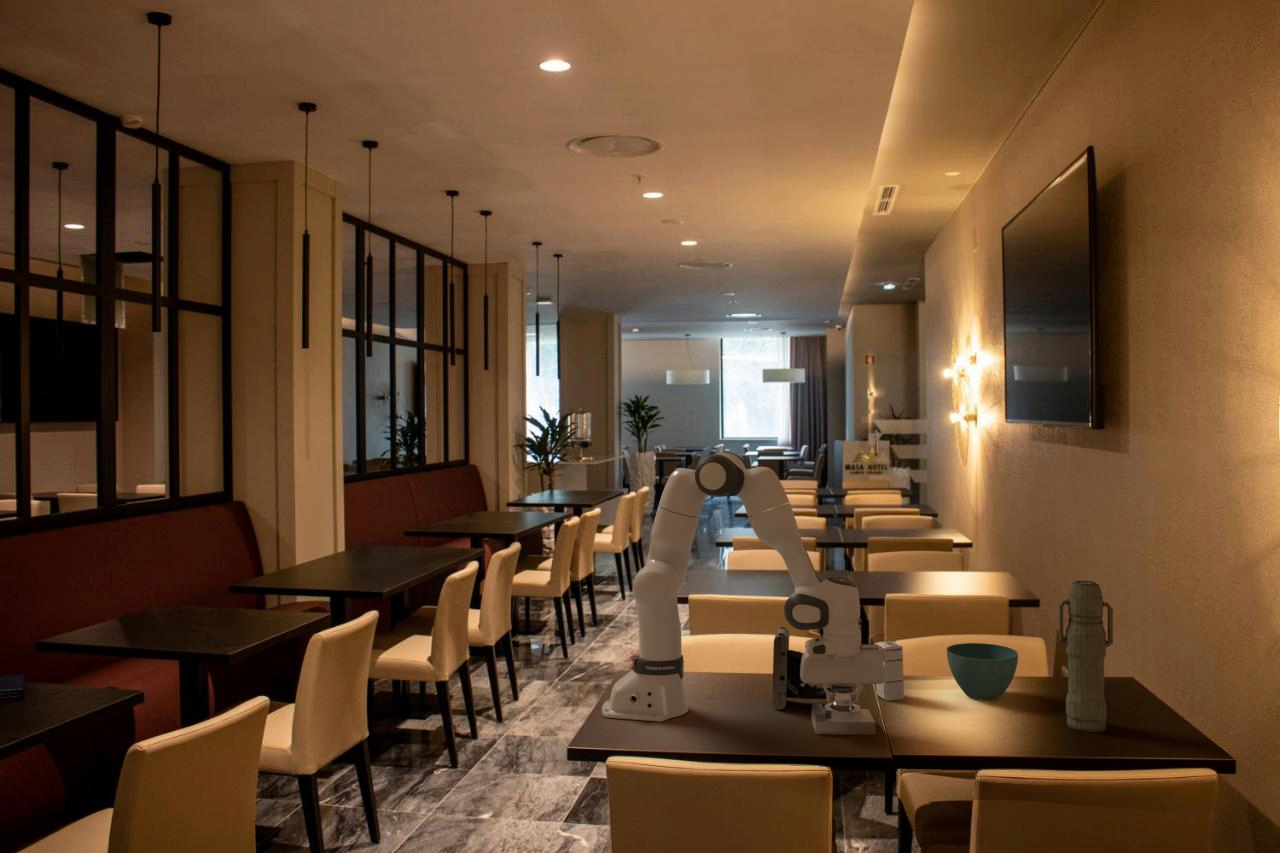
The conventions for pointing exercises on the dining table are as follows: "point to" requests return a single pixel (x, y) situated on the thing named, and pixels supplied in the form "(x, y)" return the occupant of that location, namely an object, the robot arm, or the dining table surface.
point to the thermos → (1086, 655)
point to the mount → (842, 720)
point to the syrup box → (892, 672)
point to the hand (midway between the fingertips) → (842, 701)
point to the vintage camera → (790, 674)
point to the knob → (842, 697)
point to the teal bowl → (982, 668)
